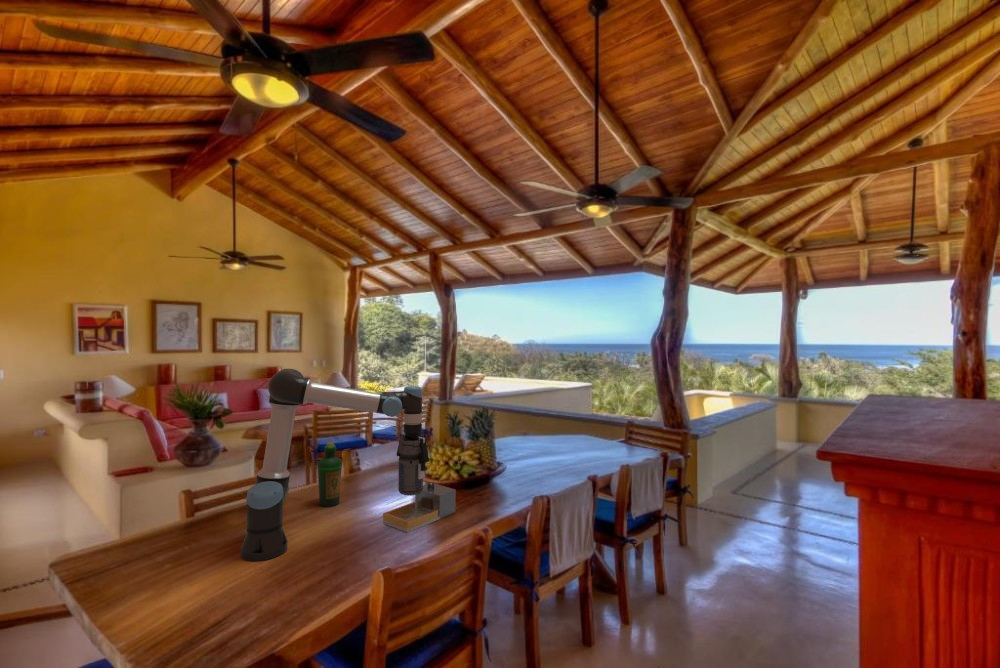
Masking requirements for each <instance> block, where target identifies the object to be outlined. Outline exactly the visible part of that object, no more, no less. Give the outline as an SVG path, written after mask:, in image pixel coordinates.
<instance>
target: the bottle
mask: <svg viewBox="0 0 1000 668" xmlns="http://www.w3.org/2000/svg"><path fill="white" fill-rule="evenodd" d="M336 451H337V447H336V444H335V442H333V441H329V442H326V444H325V446H324V450H323V452H324V454H325V456H324V457H321V458H320V460H319V461H318V463H317V474H318V476H317V477H318V478H317V479H318V495H319V496H318V497H319V498H318V500H319V501H318V502H319V505H320V506H322V507H334V506H337V505H338V504H339V503H340V496H341V483H342V481H341V480H342V470H343V469H342V467H343V466H342V465H343V460H342V459H341V458H340V457H338V456H336Z"/></svg>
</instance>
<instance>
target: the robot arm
mask: <svg viewBox="0 0 1000 668" xmlns="http://www.w3.org/2000/svg"><path fill="white" fill-rule="evenodd" d="M267 391H268V392H269V397H268V404H269V405H270V406H271V413H270V419H269V425H268V430H267V432H268V433H267V438H266V443H265V451H264V456H263V457H264V458H263V462H262V468H261V469H260V470H259V471H258V472H257V474H256V478H255V484H253V485H252V486H250V487H249V489H248V490H247V493H246V494H247V495H246V497H245V499H246V501H245V502H246V531H245V532H246V533H245V536H244V539H243V542H242V543H241V547H240V558H241V559H243V560H246V561H250V562H259V561H266V560H270V559H274V558H277V557H279V556H281V555H283V554H284V553H286V552H287V550H288V548H289V547H288V538H287V535H286V533H285V531H284V526H283V522H284V521H283V520H284V519H283V516H284V512H283V511H284V504H285V502H286V499H287V497H288V494H289V492H290V490H289V489H290V485H289V484H290V477H291V473H290V472H289V471H288V469H287V468H288V463H289V456H290V449H291V444H292V436H293V431H294V426H295V424H294V423H295V419H296V412H297V411H296V410H297V409H298V408H299V407H301V405H305V404H307V403H309V404H310V403H311V404H315V405H323V406H330V407H336V408H337V407H338V408H343V409H349V410H355V411H362V412H370V413H376V414H381V415H385V416H387V417H391V418H392V417H393V418H394V417H397V416H398V415H400V414H401V413H402V410H403V423H404V424H403V432H404V433H403V434H404V437H405V439H406V440H411V441H417V440H419V443H420V448H421V453H419V454H418V458H419V461H420V463H418V479H422V478H423V479H425V471H426V463H428V462H430V456H429V451H428V446H427V437H426V438H422V437H421V435H420V433H421V432H422V431H423V423H422V422H423V389H422V387H421V386H418V385H406V386H404V389H403V390H402V391H401V390H400V391H378V392H374V391H366V390H361V389H355V388H349V387H344V386H337V385H332V384H325V383H319V382H315V381H312V380H311V378H307V377H304V375H303V374H302V372H301V371H299V370H297V369H295V368H283V369H281V370H278V372H276V373H275V374H274V375H272V376H271V377H270V379H269V381H268V383H267ZM401 434H402V433H400V434H399V438H400V437H401ZM396 456H397V457H398V458H399V457H400V456H401V455H400V453H399V444H398V447H397V450H396ZM422 459H423V460H422Z"/></svg>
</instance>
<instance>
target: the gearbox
mask: <svg viewBox="0 0 1000 668" xmlns="http://www.w3.org/2000/svg"><path fill="white" fill-rule="evenodd" d="M456 491H457V490H456V489H455V488H451V487H448V486H444V485H441V484H438V483H435V482H433V481H429V482H427V484H423V490H422V492H421V493H419V494H417V495H414V496H415V497H414V498H415V500H414V501H413V502H409V503H407V504H404V505H401V506H399V507H396V508H394V509H391V510H388V511H385V512H382V524H383V525H387V526H388V527H392V528H394V529H396V530H398V531H402V532H404V533H410V532H413V531H415V530H417V529H420V528H422V527H425V526H427V525H429V524H431V523H434V522H436V521H439V520H440V519H443V518H445V517H447V516H450V515H452V514H455V513H456V507H457V506H456V504H457V503H456V499H457V498H456V497H457V496H456V495H457V494H456V493H457V492H456Z"/></svg>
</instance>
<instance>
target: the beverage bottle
mask: <svg viewBox="0 0 1000 668" xmlns="http://www.w3.org/2000/svg"><path fill="white" fill-rule="evenodd" d="M400 434H401V437H400V436H399V439H398V445H399V453H400V455H401V456H400V457H399V456H398V484H397V485H398V488H397V489H398V492H399V493H400V494H401V495H404V496H415V495H417V494H419V493H421V492H422V490H423V486H424V478H422V479H418V463H420V461H419V458H418V454H419V453H421V448H420V443H419V440H417V441H411V440H406V439H405V437H404V433H400ZM420 435H421V437H422V438H426V439H427V435H426V433H424V432H421V433H420ZM422 460H423V459H422Z"/></svg>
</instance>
